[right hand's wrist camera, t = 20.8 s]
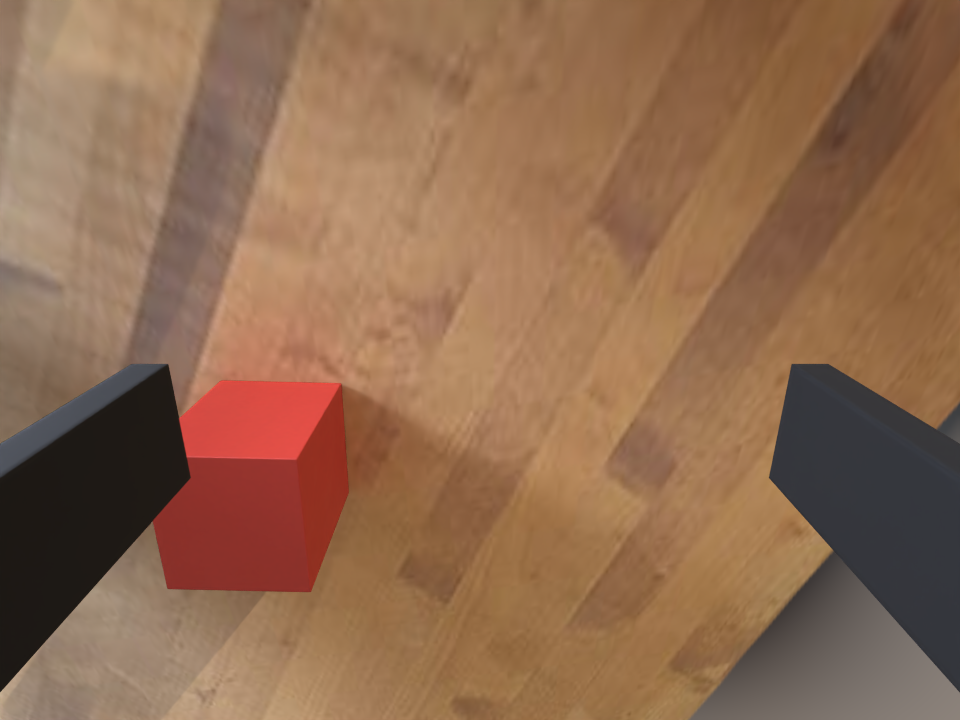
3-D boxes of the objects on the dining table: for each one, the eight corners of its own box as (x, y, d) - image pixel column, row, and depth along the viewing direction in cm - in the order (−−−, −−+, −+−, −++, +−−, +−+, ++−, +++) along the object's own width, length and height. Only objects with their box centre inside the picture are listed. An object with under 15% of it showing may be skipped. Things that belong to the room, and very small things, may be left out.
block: (349, 492, 44) (311, 592, 34) (237, 490, 44) (167, 589, 34) (341, 382, 40) (297, 459, 31) (220, 380, 40) (137, 455, 31)
